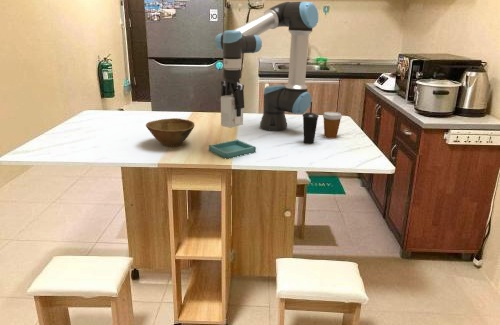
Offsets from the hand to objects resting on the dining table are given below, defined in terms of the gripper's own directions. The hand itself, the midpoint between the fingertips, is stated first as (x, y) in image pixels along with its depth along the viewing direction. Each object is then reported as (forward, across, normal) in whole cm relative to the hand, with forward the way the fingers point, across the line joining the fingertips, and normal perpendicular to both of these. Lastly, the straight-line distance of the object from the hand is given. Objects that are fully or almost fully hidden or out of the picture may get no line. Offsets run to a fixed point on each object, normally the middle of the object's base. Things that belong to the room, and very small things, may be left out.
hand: (232, 121), depth 179 cm
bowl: (+14, -26, -17) cm, 34 cm away
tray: (+14, 0, 0) cm, 14 cm away
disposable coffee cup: (+14, +9, +56) cm, 59 cm away
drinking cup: (+14, +10, +39) cm, 43 cm away
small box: (+2, 0, 0) cm, 2 cm away
